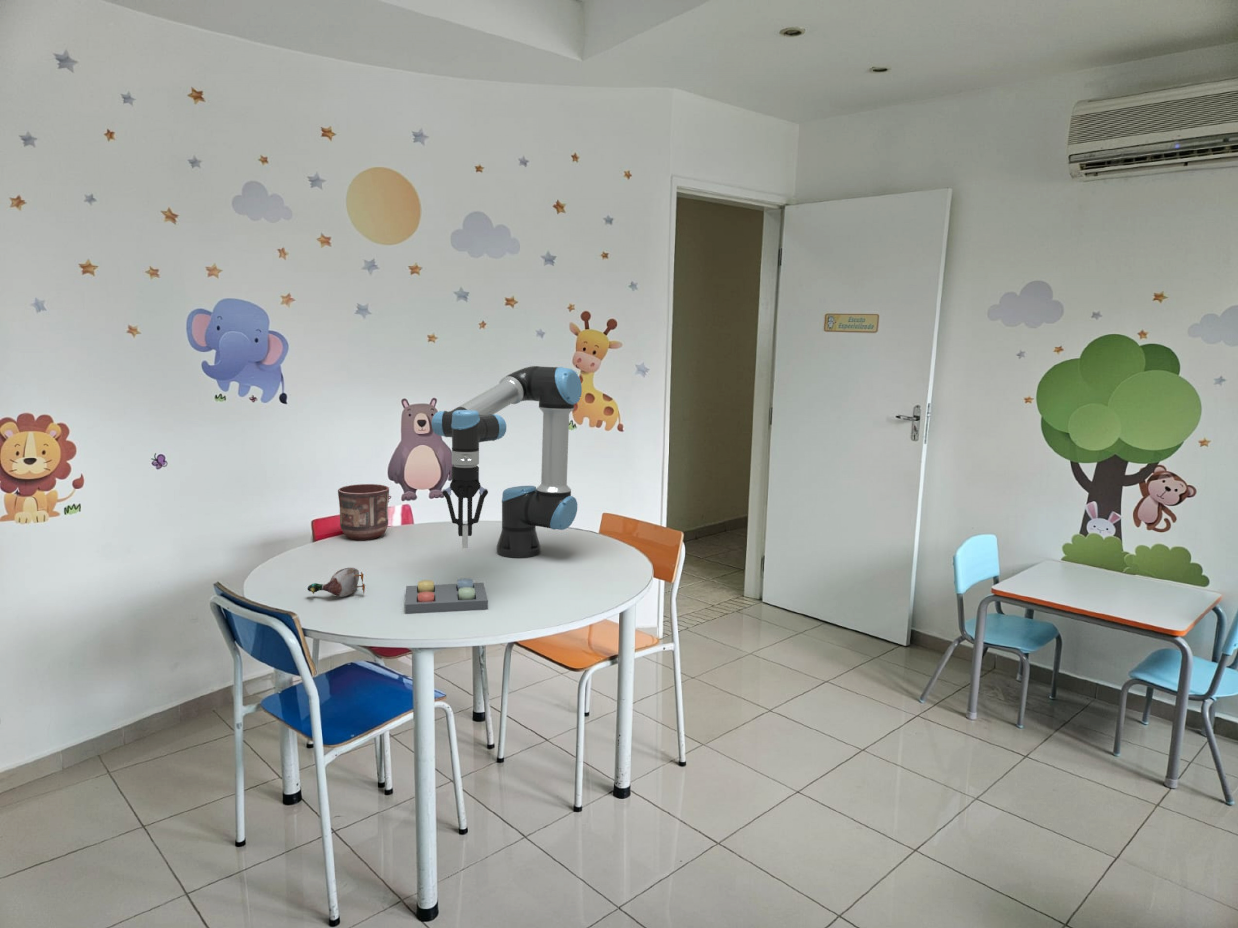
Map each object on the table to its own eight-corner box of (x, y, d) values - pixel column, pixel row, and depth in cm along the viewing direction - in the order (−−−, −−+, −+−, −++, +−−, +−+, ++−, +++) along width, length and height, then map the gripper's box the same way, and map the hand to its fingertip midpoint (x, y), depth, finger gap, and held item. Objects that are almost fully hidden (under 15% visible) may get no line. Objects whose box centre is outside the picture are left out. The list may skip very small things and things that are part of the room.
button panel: (483, 590, 231) (483, 582, 231) (487, 609, 216) (487, 600, 215) (406, 594, 226) (406, 585, 225) (405, 613, 210) (405, 604, 210)
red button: (434, 602, 218) (434, 591, 217) (434, 607, 214) (434, 596, 213) (417, 603, 217) (417, 591, 216) (417, 608, 213) (417, 597, 212)
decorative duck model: (302, 580, 215) (316, 562, 230) (306, 606, 217) (320, 586, 231) (357, 575, 217) (368, 558, 231) (361, 600, 218) (372, 582, 233)
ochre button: (433, 590, 226) (433, 579, 225) (434, 595, 221) (433, 584, 221) (418, 591, 224) (417, 580, 224) (417, 596, 220) (417, 585, 220)
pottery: (381, 543, 278) (380, 494, 275) (332, 541, 278) (330, 492, 275) (395, 531, 295) (395, 484, 293) (349, 529, 296) (348, 483, 293)
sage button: (474, 597, 221) (474, 586, 220) (475, 603, 216) (475, 591, 216) (458, 598, 219) (458, 587, 219) (459, 603, 215) (459, 592, 215)
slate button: (472, 588, 228) (472, 578, 228) (473, 593, 224) (473, 582, 223) (457, 589, 227) (457, 578, 227) (457, 594, 223) (457, 583, 222)
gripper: (441, 467, 214) (441, 551, 218) (489, 467, 218) (489, 549, 221) (441, 463, 222) (441, 544, 225) (487, 463, 225) (487, 542, 228)
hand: (465, 546), depth 223 cm, fingers closed
